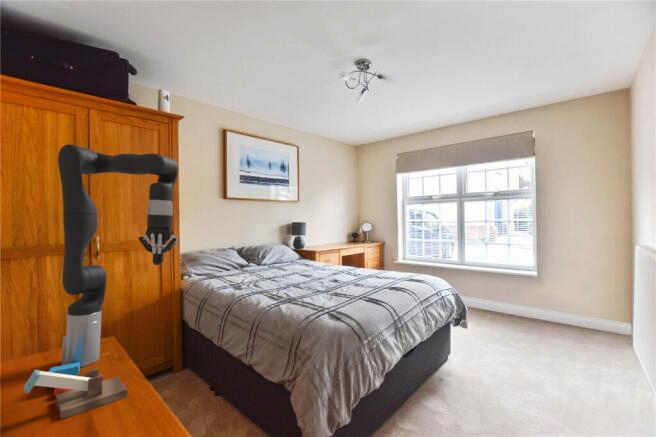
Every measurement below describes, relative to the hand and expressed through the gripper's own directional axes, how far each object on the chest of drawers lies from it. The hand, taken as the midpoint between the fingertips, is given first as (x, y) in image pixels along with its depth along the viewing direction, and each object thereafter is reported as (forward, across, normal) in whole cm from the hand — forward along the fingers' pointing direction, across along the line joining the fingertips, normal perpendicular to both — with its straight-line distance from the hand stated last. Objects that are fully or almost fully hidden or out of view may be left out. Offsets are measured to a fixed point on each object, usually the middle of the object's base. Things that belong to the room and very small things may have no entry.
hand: (157, 264), depth 101 cm
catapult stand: (+35, -7, -18) cm, 40 cm away
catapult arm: (+31, -7, -18) cm, 37 cm away
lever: (+36, -21, -10) cm, 43 cm away
